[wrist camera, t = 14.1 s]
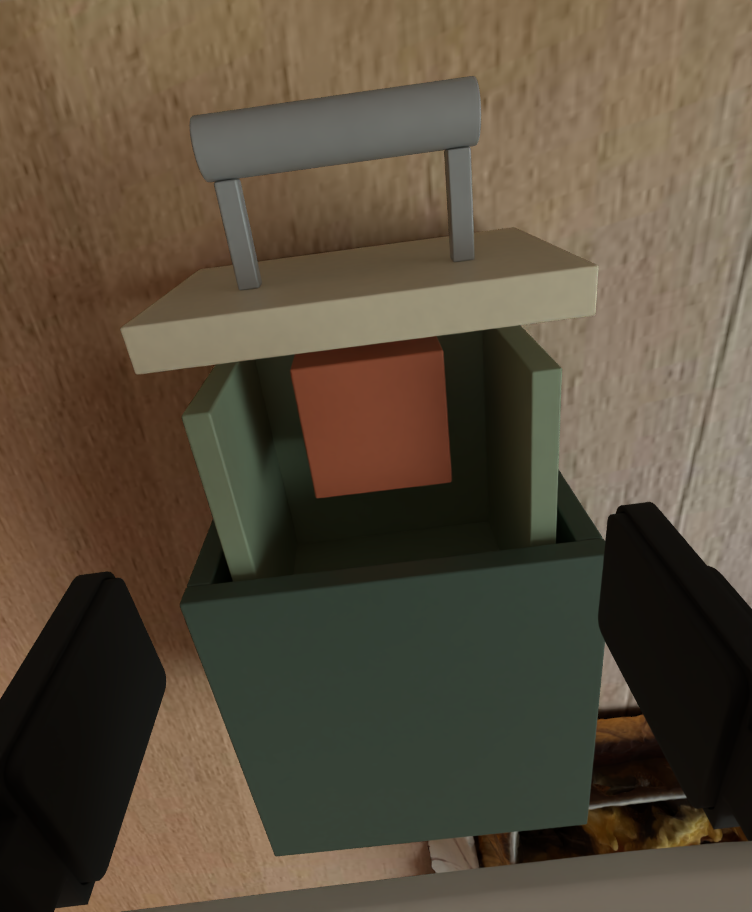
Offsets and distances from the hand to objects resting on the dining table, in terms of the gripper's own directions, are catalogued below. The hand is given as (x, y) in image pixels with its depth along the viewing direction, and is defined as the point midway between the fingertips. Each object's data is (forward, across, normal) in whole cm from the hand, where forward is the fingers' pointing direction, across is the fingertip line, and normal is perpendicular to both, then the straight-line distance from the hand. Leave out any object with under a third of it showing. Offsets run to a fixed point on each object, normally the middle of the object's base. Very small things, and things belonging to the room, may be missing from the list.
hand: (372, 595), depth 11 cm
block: (+12, 0, 0) cm, 12 cm away
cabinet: (+14, 0, +10) cm, 17 cm away
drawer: (+13, 0, 0) cm, 13 cm away
